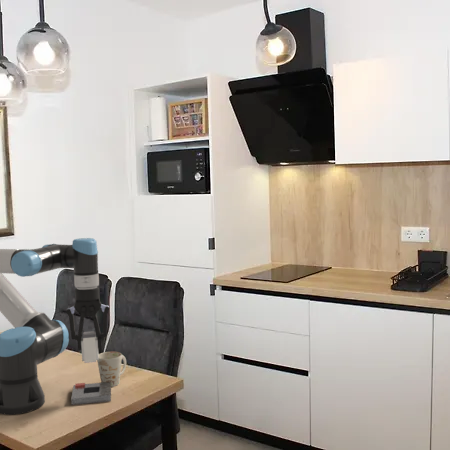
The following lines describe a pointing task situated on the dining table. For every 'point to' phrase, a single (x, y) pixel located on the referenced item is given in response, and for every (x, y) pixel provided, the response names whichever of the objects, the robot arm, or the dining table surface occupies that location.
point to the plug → (89, 347)
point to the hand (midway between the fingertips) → (90, 359)
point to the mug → (111, 367)
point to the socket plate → (91, 393)
